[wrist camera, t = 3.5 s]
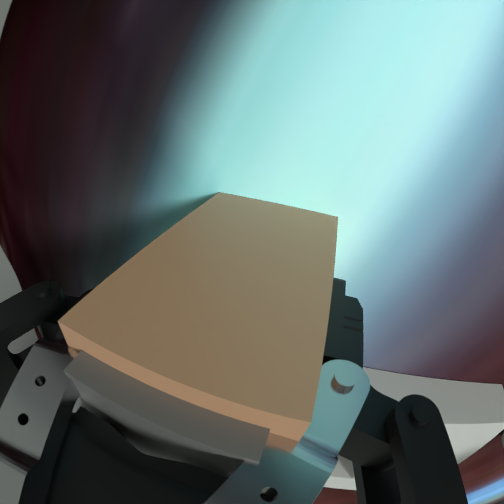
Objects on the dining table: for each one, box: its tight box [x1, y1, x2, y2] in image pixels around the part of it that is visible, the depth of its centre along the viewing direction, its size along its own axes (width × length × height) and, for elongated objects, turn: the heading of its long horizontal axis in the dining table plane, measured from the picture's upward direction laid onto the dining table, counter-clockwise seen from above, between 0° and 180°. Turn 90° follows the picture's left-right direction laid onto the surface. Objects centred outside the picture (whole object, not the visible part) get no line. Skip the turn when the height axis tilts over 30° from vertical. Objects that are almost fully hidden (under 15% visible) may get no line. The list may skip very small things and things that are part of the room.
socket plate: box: [323, 367, 504, 490], centre depth 15 cm, size 12×20×3 cm, turn 84°
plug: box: [58, 192, 338, 477], centre depth 8 cm, size 5×5×9 cm
